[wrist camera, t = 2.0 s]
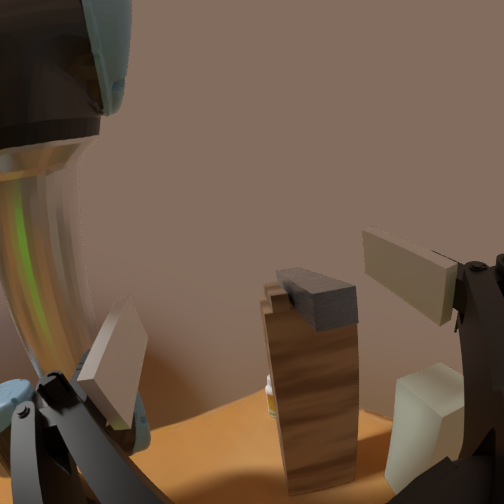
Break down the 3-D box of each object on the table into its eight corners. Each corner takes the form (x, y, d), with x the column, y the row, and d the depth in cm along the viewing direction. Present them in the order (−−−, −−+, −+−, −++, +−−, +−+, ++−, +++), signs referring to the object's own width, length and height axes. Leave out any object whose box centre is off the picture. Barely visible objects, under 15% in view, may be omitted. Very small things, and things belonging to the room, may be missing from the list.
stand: (354, 480, 29) (353, 281, 29) (289, 496, 29) (261, 297, 29) (336, 445, 39) (326, 273, 39) (281, 457, 39) (256, 284, 39)
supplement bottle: (296, 415, 53) (292, 378, 53) (271, 421, 52) (266, 384, 52) (289, 403, 58) (285, 368, 58) (266, 409, 57) (261, 373, 57)
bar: (358, 323, 20) (355, 285, 20) (316, 332, 20) (312, 293, 20) (301, 286, 42) (298, 267, 42) (278, 290, 42) (275, 270, 42)
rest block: (451, 493, 18) (488, 390, 18) (409, 516, 18) (442, 417, 18) (421, 460, 28) (439, 362, 28) (384, 476, 28) (396, 379, 28)
